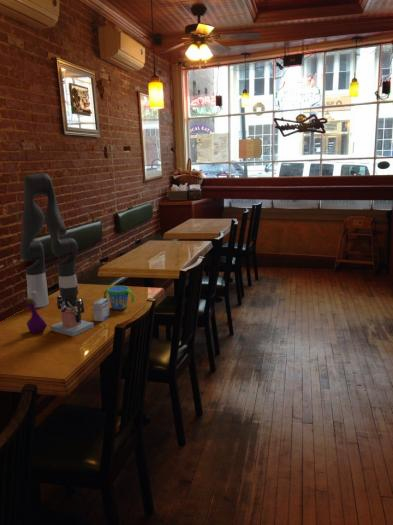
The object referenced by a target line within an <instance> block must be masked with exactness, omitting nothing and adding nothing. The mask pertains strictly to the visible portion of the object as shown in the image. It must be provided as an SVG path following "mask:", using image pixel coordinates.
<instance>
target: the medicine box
mask: <svg viewBox="0 0 393 525" xmlns="http://www.w3.org/2000/svg"><path fill="white" fill-rule="evenodd" d="M109 302H110V299H109V298H107V299H106V298H104V297H103V298H102V297H101V298H99V299H98V300H95V302H94V303H92V310H93V317H94V321H95V322H105V320H107V319H108V318H109V317H110V314H111V313H110V305H109V304H110V303H109Z"/></svg>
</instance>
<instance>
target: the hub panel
mask: <svg viewBox="0 0 393 525" xmlns="http://www.w3.org/2000/svg"><path fill="white" fill-rule="evenodd" d="M94 328H95V324H94V322H92V321H87V320H83V319H81V324H79V325H76V326H74V327H71V328H69V327H66V326H63V323H62V321H60V322H58V323H55V324H52V325H51V326H50V330H51V332H56V333H59V334H62V335H66V336H68V337H72V338H73V337H75V336H78V335H79V334H82V333H84V332H87V331H90V330H92V329H94Z"/></svg>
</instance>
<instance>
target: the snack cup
mask: <svg viewBox="0 0 393 525" xmlns="http://www.w3.org/2000/svg"><path fill="white" fill-rule="evenodd" d="M107 293H108V296H109V298H108V297H107ZM129 295H130V296H131V301H130V302H131V303H132V304H133V303H134V301H135V296H134V293H133V291H132V290H131V289H130V287H129V286H127V285H114V286H110V287H108V288H106V290H105V291H104V292H103V298H106V299H109V302H110V305H111V308H112V310H115V311H116V310H117V311H119V310H120V311H121V310H125V309H127V307H128V301H129V300H128V298H129Z"/></svg>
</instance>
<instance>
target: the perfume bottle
mask: <svg viewBox="0 0 393 525" xmlns="http://www.w3.org/2000/svg"><path fill="white" fill-rule="evenodd" d="M33 293H37V292H36V291H33V292H32V293H31V294H30V296H31V295H32V294H33ZM37 294H38V293H37ZM38 296H39V294H38ZM25 301H26V302H25V307H28V308H29V309H30V311H31V316H30V318H29V319H28V321H27V322H26V327H27V328H28V330H29V331H30V333H31V334H33V335H36V334H41V333H44V331H46V328H47V326H48V324H47V322H46V320H45V319H44V318H43V317H42V316H41V315H40V314H39V313H38V311H37V309H36V308H35V307H34V305H35V304H36V303H35V302H33V299H30V297H29V299H28V298H27V299H26V300H25Z"/></svg>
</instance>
